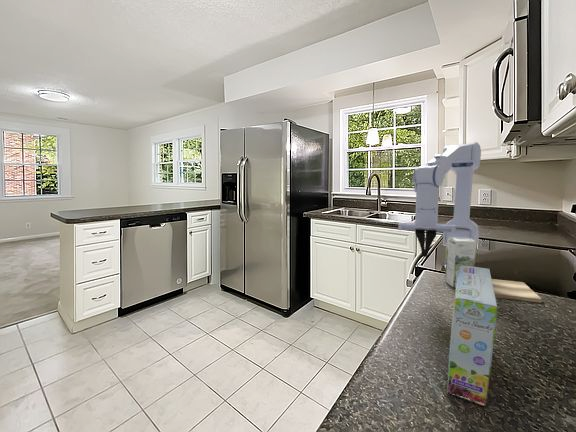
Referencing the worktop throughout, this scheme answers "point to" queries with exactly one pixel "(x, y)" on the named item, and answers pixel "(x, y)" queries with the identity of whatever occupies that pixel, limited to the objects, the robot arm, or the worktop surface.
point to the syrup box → (458, 257)
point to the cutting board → (514, 291)
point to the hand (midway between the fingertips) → (424, 256)
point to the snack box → (472, 334)
